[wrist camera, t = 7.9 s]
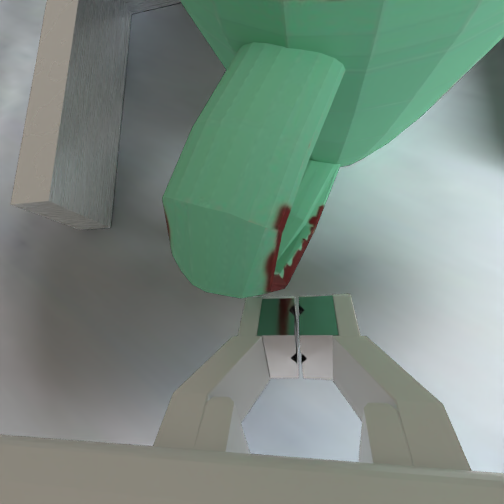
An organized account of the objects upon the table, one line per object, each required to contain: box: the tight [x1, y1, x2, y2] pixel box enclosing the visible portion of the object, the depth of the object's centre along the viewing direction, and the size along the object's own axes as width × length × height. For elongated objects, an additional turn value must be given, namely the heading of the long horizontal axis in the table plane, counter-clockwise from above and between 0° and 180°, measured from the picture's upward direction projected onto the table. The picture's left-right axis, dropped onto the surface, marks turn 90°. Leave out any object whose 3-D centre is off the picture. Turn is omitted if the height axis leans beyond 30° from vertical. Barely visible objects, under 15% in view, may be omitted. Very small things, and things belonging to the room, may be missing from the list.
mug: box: [162, 0, 504, 298], centre depth 10 cm, size 15×10×10 cm
